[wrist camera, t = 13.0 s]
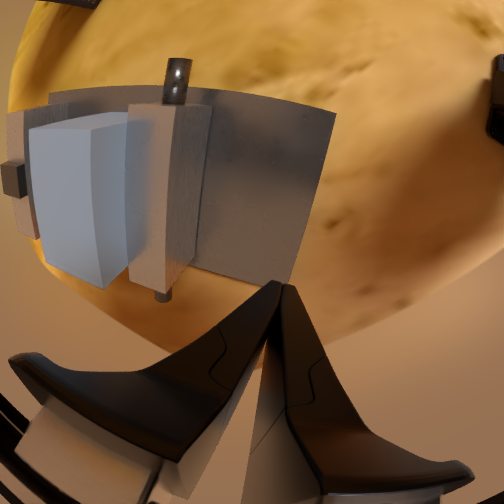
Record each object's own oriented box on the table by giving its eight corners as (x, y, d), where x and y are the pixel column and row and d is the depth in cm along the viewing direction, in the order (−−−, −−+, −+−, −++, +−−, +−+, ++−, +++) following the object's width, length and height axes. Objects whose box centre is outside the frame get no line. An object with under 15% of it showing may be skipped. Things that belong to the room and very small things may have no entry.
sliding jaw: (220, 66, 12) (184, 53, 9) (192, 282, 20) (166, 322, 16) (179, 64, 13) (135, 55, 9) (163, 272, 20) (133, 309, 17)
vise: (335, 113, 13) (348, 114, 8) (286, 284, 20) (272, 350, 14) (57, 92, 15) (-1, 103, 10) (60, 215, 22) (14, 246, 16)
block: (172, 115, 14) (90, 129, 8) (164, 231, 19) (103, 290, 13) (111, 111, 15) (29, 129, 9) (110, 216, 19) (46, 262, 13)
